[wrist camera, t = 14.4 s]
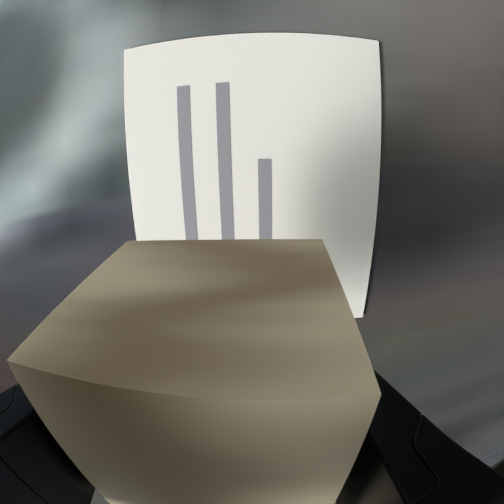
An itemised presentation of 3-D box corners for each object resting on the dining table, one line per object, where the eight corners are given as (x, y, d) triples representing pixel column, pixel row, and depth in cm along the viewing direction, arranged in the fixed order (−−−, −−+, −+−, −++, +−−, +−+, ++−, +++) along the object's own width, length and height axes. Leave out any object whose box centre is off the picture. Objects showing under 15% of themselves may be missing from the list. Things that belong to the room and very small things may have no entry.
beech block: (322, 238, 8) (381, 394, 3) (309, 385, 10) (320, 527, 5) (127, 241, 8) (6, 359, 3) (159, 380, 10) (111, 505, 5)
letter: (361, 315, 14) (362, 317, 14) (151, 312, 15) (150, 314, 14) (377, 41, 10) (378, 40, 9) (125, 50, 10) (123, 49, 10)
